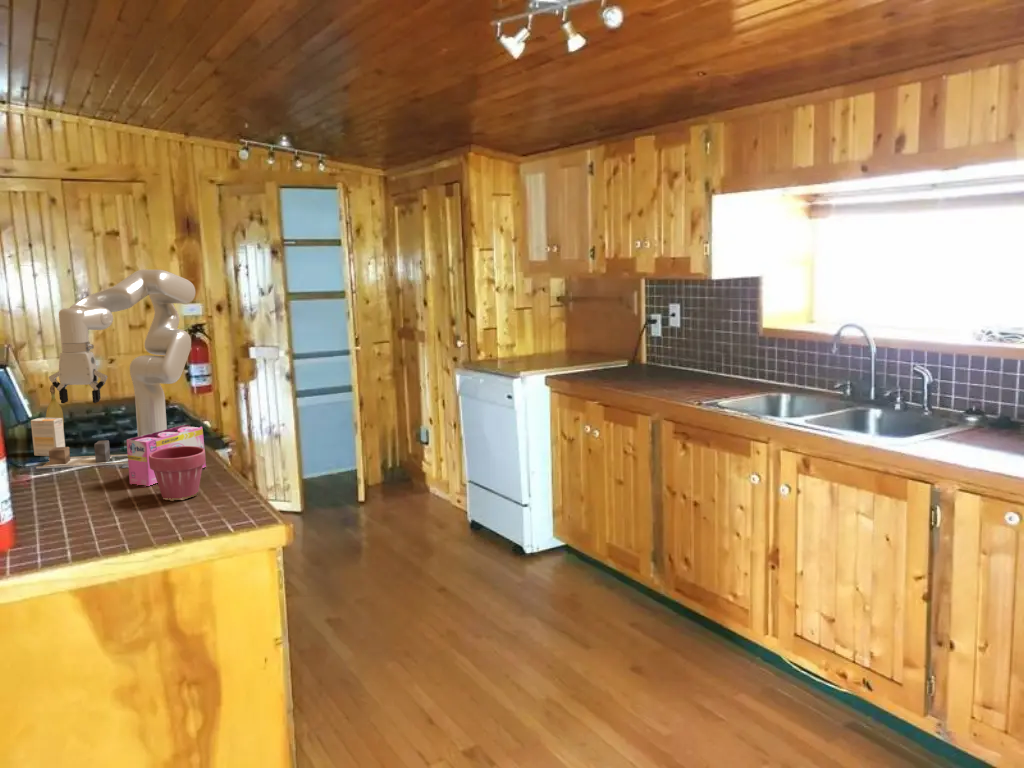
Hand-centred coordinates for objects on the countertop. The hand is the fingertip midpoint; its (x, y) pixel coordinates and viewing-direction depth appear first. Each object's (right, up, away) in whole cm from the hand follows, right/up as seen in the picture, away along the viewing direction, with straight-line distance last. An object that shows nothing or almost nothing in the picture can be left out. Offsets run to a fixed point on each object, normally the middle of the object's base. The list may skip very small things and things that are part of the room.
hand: (80, 402), depth 248 cm
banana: (-26, -16, +31) cm, 43 cm away
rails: (+2, -20, +4) cm, 21 cm away
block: (-7, -19, +2) cm, 21 cm away
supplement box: (-17, -19, +13) cm, 29 cm away
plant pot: (+44, -26, -29) cm, 58 cm away
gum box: (+32, -22, -8) cm, 40 cm away
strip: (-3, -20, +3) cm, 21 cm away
